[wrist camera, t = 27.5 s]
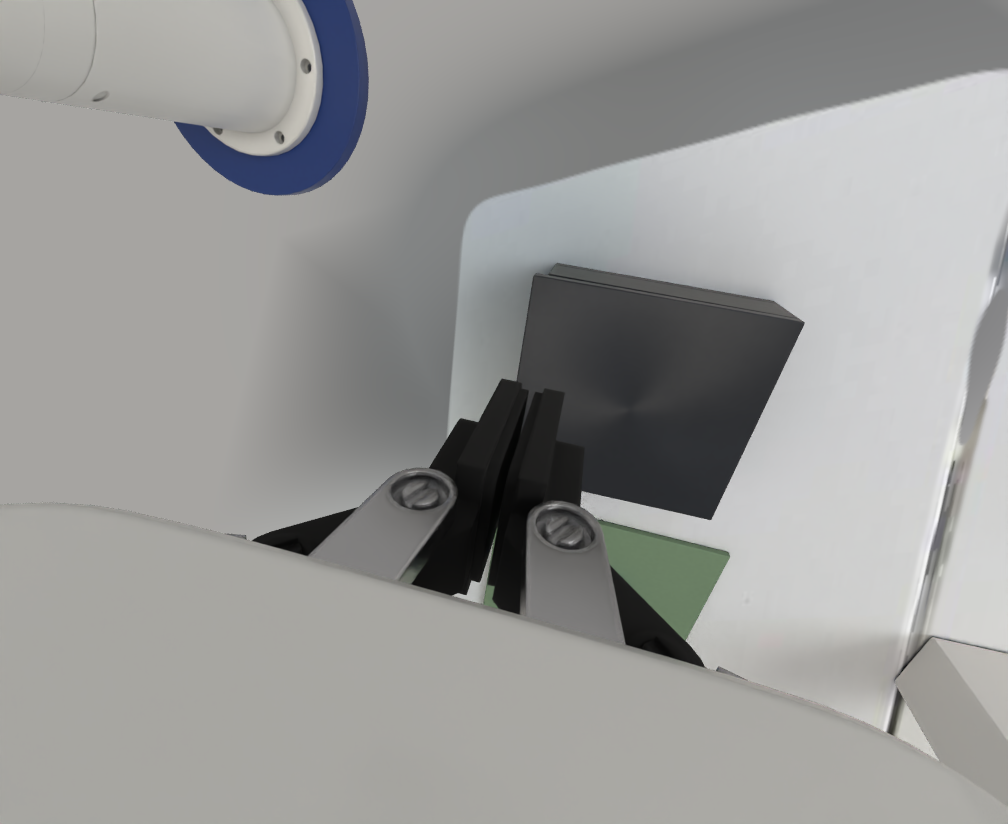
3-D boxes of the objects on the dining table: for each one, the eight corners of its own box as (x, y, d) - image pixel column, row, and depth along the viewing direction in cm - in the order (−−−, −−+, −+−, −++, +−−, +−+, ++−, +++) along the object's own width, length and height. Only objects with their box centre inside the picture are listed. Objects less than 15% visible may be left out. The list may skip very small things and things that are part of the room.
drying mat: (479, 633, 54) (477, 637, 54) (501, 495, 44) (500, 499, 43) (658, 685, 51) (658, 690, 51) (728, 552, 41) (730, 556, 40)
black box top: (503, 467, 36) (501, 473, 35) (535, 272, 28) (533, 274, 28) (709, 513, 34) (711, 520, 33) (800, 319, 26) (805, 322, 26)
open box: (524, 437, 40) (514, 466, 36) (556, 262, 33) (548, 273, 29) (698, 477, 38) (708, 513, 34) (774, 301, 31) (800, 318, 27)
